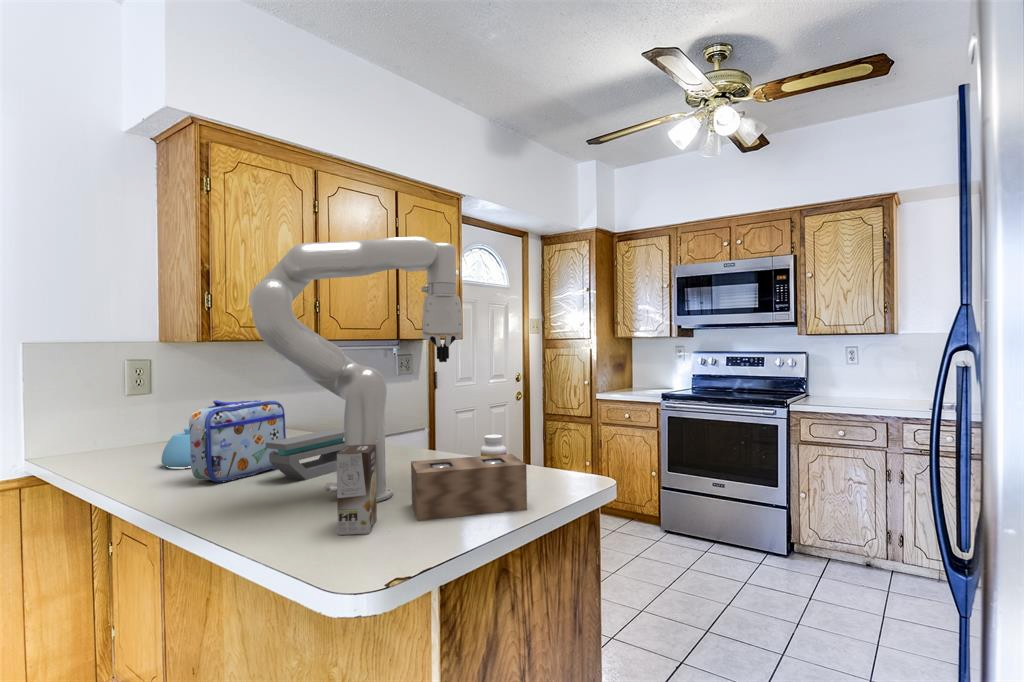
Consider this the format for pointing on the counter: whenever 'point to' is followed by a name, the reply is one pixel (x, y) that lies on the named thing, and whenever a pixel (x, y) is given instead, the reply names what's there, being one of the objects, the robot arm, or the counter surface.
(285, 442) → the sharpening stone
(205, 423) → the lunch box
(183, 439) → the sugar bowl
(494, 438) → the supplement bottle
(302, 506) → the counter surface
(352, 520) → the coffee box
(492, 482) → the walnut block
